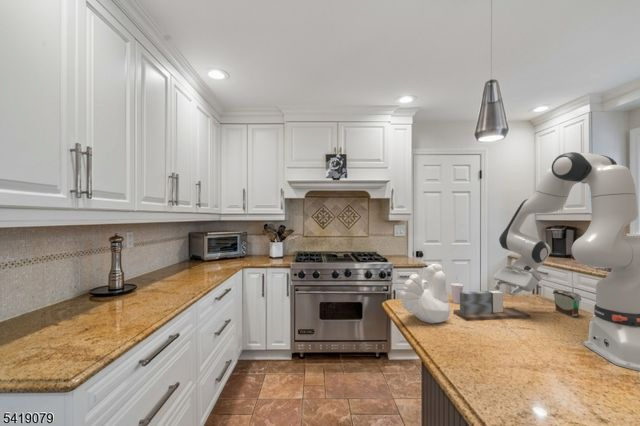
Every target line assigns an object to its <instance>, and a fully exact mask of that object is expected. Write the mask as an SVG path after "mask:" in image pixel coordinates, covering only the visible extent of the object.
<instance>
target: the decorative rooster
mask: <svg viewBox="0 0 640 426" xmlns="http://www.w3.org/2000/svg"><path fill="white" fill-rule="evenodd" d="M425 272H426V273H425V275H424V279H422V278H421V276H420V275H419V274H417V273H412V274H411V275H410V276H408V279H407V280H405V282H404V284H403V286H402V291H401V292H400V300H401V305H402V308H403V309H405V310H406V312H408V313H409V314H413V315H414V316H415V317H416V318H417V319H419V320H420V321H421V322H425V323H427V324H437V323H443V322H445V321H446V320H447V319H449V317H450V314H451V307H450V303H449V298H448V295H447V288H446V286H447V285H446V284H447V283H446V282H447V281H446V280H447V279H446V274H445V273H444V271H443V266H442V264H439V263H438V264H437V263H432V264H430V265H429V266H427V267H426V268H425Z"/></svg>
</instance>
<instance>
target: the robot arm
mask: <svg viewBox="0 0 640 426" xmlns="http://www.w3.org/2000/svg"><path fill="white" fill-rule="evenodd" d="M579 183H582V184H587V185H588V186H589V190H590V204H591V205H590V206H591V208H590V209H591V218H590V223H589V225H588V228H587V229H586V231H584V233H583V234H582V235H581V236H580V237H578V238H577V239H576V240H574V242H573V244H572V245H571V255H572V257H573V258H574V260H575V261H576V262H577V263H578V264H580V265H583V266H587V267H591V268H592V267H593V268H598V269H599V268H601V269H602V268H603V269H604V268H605V269H611V270H610V272H609V273H608V275H606V276H605V277H604V278H601V279H598V281H597V282H596V284H595V304H594V307H593V312H594V315H595V316H594V317H593V319H592V320H590V321H589V326H588V327H589V328H588V338H587V339H588V340H584V341H583V346H585V347H586V348H588V349H590V350H592V351H593V352H595V353H596V354H598V355H599V356H601V357H603V358H604V359H606V360H607V361H609V362H610V363H612V364H614V365H616V366H618V367H622V368H626V369H630V370H634V371H639V372H640V236H638V235H636V236H635V235H623V232H624V229H625V228H626V226H628V225H629V224H631V223H634V222H635V221H636V220H637V219H638V217H639V207H638V199H637V198H638V197H637V191H636V190H637V189H636V185H635V181H634V178H633V175H632V172H631V171H630V169H629V168H628V167H627V166H625V165H622V164H618V163H617V161H616V160H615V159H613V158H611V157H609V156H607V155H604V154H603V155H602V154H596V153H595V154H594V153H591V152H575V151H573V152H571V151H570V152H565V153H562V154H560V155H558V156H557V157H555V159H554V160H553V162H552V164H551V167H550V168H548V169H547V170H545V172H544V174H542V176H541V178H540V180H539V183H538V184H537V186H536V189H535V192H534V193H533V194H532V196H531V197H529V198H527V199H525V200H523V201H522V202H521V203H520V205H519V206H518V207H517V209H516V210H515V213H514V214H513V216H512V217H511V220H510V221H509V222H508V224H507V226H506V228H505V229H504V231H502V233H501V235H500V236H499V239H498V242H499V245H500V246H501V248H502V249H504V250H507V251H511V252H513V253H515V254H517V255H519V257H518V258H517V259H516V260H515V261H514V262H513V263H512V264H511V265H510V266H505V267H501V268H500V269H498V270H497V271H496V272H495V273H494V274H493V276H492V278H493V279H494V281H495V284H494V286H493V288H494V290H495V291H499V290H500V289H501V286H502V284H503V285H507V286H509V287H512V288H514V289H510V290H509V292H508V294H509V295H510V296H512V297H514V296H515V295H516V294H518V293H520V292H522V291H524V292H527V293H529V292H531V291H533V290H534V289H535V288H536V287H537V286H538V284H539V282H540V281H542V280H543V277H542V276H541V275H540V274H539V273H538V269H539V268H540V266H543V264H544V263H545V262H546V260H548V257H549V255H550V254H551V252H552V248H551V247H550V245H549V244H548V243H546V242H545V241H543V240H542V239H539V238H537V237H533V236H530V235H528V234H526V233H522V232H520V230H521V228H522V226H523V225H524V222H525V221H526V219H527V218H528V217H529V215H534V214H550V213H555V212H558V211H560V210H561V209H562V208H563V207H564V206H565V205H566V203H567V200H568V197H569V195H570V193H571V190H572V189H573V187H574V186H575V185H577V184H579Z"/></svg>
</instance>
